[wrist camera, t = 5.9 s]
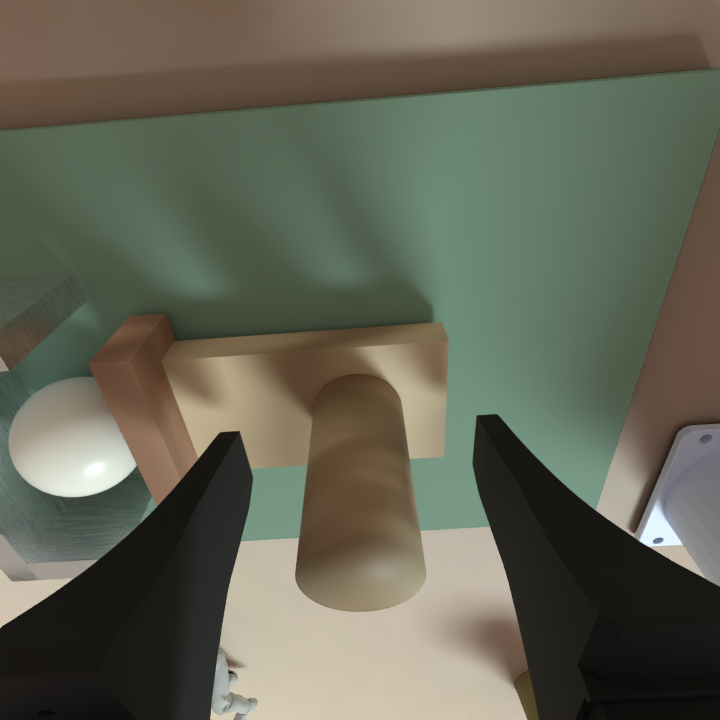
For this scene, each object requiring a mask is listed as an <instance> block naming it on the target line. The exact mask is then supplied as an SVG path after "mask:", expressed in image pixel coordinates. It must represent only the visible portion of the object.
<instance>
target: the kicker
mask: <svg viewBox="0 0 720 720" xmlns="http://www.w3.org/2000/svg"><path fill="white" fill-rule="evenodd" d="M448 349H449V340H448V337H447V334H446V331H445V328H444V325H443V322H436V323H422V324H408V325H394V326H380V327H366V328H352V329H338V330H325V331H311V332H297V333H283V334H269V335H255V336H241V337H227V338H213V339H199V340H185V341H175V339H174V336H173V333H172V330H171V327H170V324H169V321H168V318H167V316H166V313H165V314H151V315H138V316H129V317H128V318H127V320H126V321H125V322H124V323H123V324H122V325H121V326H120V328H119V329H118V330H117V331H116V332H115V333H114V334H113V336H112V337H111V338H110V339H109V340H108V341H107V342H106V344H105V345H104V346H103V347H102V348H101V349H100V350H99V352H98V353H97V354H96V355H95V356H94V357H93V358H92V360H91V361H90V362H89V363H88V365H89V367H90V370H91V372H92V374H93V376H94V378H95V380H96V382H97V384H98V386H99V388H100V390H101V392H102V394H103V396H104V398H105V400H106V402H107V404H108V406H109V409H110V411H111V413H112V415H113V417H114V419H115V421H116V423H117V425H118V427H119V429H120V431H121V433H122V435H123V437H124V439H125V441H126V443H127V445H128V447H129V450H130V452H131V454H132V456H133V458H134V460H135V462H136V464H137V466H138V468H139V470H140V472H141V474H142V476H143V478H144V480H145V482H146V484H147V486H148V489H149V491H150V493H151V495H152V497H153V499H154V501H155V503H156V505H157V506H158V505H159V504H160V503H161V502H162V501H163V499H164V498H165V497H166V496H167V495H168V494H169V493H170V492H171V491H172V490H173V489H174V487H175V486H176V485H177V484H178V483H179V482H180V480H181V479H182V478H183V477H184V476H185V474H186V473H187V472H188V471H189V470H190V468H191V467H192V466H193V465H194V464H195V462H196V461H197V460H198V459H199V457H200V456H201V455H202V454H203V452H204V451H205V450H206V449H207V447H208V446H209V445H210V444H211V442H212V441H213V440H214V439H215V437H216V436H217V435H218V434H219V433H220V432H229V431H240V434H241V437H242V440H243V444H244V447H245V451H246V454H247V457H248V461H249V464H250V468H251V469H258V468H274V467H290V466H306V465H307V473H306V482H305V491H304V500H303V509H302V518H301V527H300V536H299V545H298V554H297V563H296V572H295V578H296V582H297V585H298V587H299V588H300V590H301V591H302V592H303V593H304V594H305V595H306V596H307V597H308V598H310V599H311V600H313V601H314V602H316V603H318V604H320V605H323V606H326V607H329V608H332V609H337V610H342V611H350V612H368V611H376V610H382V609H386V608H390V607H393V606H396V605H398V604H400V603H403V602H404V601H406V600H408V599H410V598H411V597H412V596H414V595H415V594H416V593H417V592H418V591H419V590H420V589H421V587H422V586H423V584H424V581H425V579H426V568H425V561H424V554H423V547H422V540H421V533H420V526H419V519H418V513H417V506H416V499H415V492H414V485H413V478H412V471H411V464H410V459H417V458H432V457H444V450H445V425H446V400H447V375H448Z"/></svg>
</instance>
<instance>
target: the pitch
mask: <svg viewBox="0 0 720 720" xmlns="http://www.w3.org/2000/svg"><path fill="white" fill-rule="evenodd" d="M719 130H720V69H702V70H690V71H679V72H667V73H655V74H644V75H632V76H621V77H609V78H597V79H586V80H574V81H562V82H551V83H539V84H528V85H516V86H504V87H493V88H481V89H469V90H458V91H446V92H435V93H423V94H411V95H400V96H388V97H376V98H365V99H353V100H342V101H330V102H318V103H307V104H295V105H283V106H272V107H260V108H249V109H237V110H225V111H214V112H202V113H190V114H179V115H167V116H155V117H144V118H132V119H121V120H109V121H97V122H86V123H74V124H62V125H51V126H39V127H28V128H16V129H4V130H0V278H9V277H22V276H35V275H49V274H62V273H74V274H75V276H76V278H77V281H78V283H79V285H80V287H81V290H82V292H83V294H84V296H85V298H86V301H87V302H85V303H84V304H83V305H82V306H81V307H80V308H79V309H78V310H77V311H75V312H74V313H73V314H72V315H71V316H70V317H69V318H68V319H67V320H65V321H64V322H63V323H62V324H61V325H60V326H59V327H58V328H57V329H55V330H54V331H53V332H52V333H51V334H50V335H49V336H48V337H47V338H45V339H44V340H43V341H42V342H41V343H40V344H39V345H38V346H37V347H35V348H34V349H33V350H32V351H31V352H30V353H29V354H28V355H27V356H25V357H24V358H23V359H22V360H21V361H20V362H19V363H18V364H17V365H16V366H17V368H18V370H19V371H20V373H21V375H22V376H23V378H24V380H25V381H26V383H27V385H28V386H29V388H30V390H31V392H32V393H33V394H34V393H36V392H37V391H39V390H40V389H42V388H44V387H45V386H47V385H50V384H52V383H54V382H56V381H60V380H63V379H67V378H73V377H94V376H93V374H92V372H91V370H90V367H89V365H88V363H89V362H90V361H91V360H92V358H93V357H94V356H95V355H96V354H97V353H98V352H99V350H100V349H101V348H102V347H103V346H104V345H105V344H106V342H107V341H108V340H109V339H110V338H111V337H112V336H113V334H114V333H115V332H116V331H117V330H118V329H119V328H120V326H121V325H122V324H123V323H124V322H125V321H126V320H127V318H128V317H129V316H138V315H151V314H165V313H166V316H167V318H168V321H169V324H170V327H171V330H172V333H173V336H174V339H175V341H185V340H199V339H213V338H227V337H241V336H255V335H269V334H283V333H297V332H311V331H325V330H338V329H352V328H366V327H380V326H394V325H408V324H422V323H436V322H443V325H444V328H445V331H446V334H447V337H448V340H449V349H448V375H447V400H446V425H445V450H444V457H432V458H417V459H410V464H411V471H412V478H413V485H414V492H415V499H416V506H417V513H418V519H419V526H420V531H422V530H440V529H457V528H474V527H490V525H489V522H488V519H487V516H486V514H485V511H484V508H483V505H482V502H481V499H480V496H479V492H478V488H477V484H476V479H475V474H474V470H473V465H472V460H473V449H474V438H475V426H476V415H488V414H498V415H499V416H500V417H501V418H502V420H503V421H504V422H505V423H506V424H507V425H508V427H509V428H510V429H511V430H512V431H513V432H514V434H515V435H516V436H517V437H518V438H519V439H520V440H521V441H522V442H523V444H524V445H525V446H526V447H527V448H528V449H529V450H530V451H531V452H532V453H533V454H534V455H535V456H536V457H537V458H538V459H539V460H540V461H541V462H542V463H543V464H544V465H545V466H546V467H547V468H548V469H549V470H550V471H551V472H552V473H553V474H554V475H555V476H556V477H557V478H558V479H559V480H560V481H561V482H562V483H563V484H565V485H566V486H567V487H568V488H569V489H570V490H571V491H572V492H574V493H575V494H576V495H577V496H578V497H579V498H581V499H582V500H583V501H584V502H586V503H587V504H588V505H589V506H591V507H592V508H593V509H594V510H596V507H597V504H598V501H599V498H600V495H601V492H602V489H603V486H604V483H605V480H606V477H607V474H608V471H609V467H610V464H611V461H612V458H613V455H614V452H615V449H616V446H617V443H618V440H619V437H620V434H621V431H622V428H623V425H624V421H625V418H626V415H627V412H628V409H629V406H630V403H631V400H632V397H633V394H634V391H635V388H636V385H637V382H638V378H639V375H640V372H641V369H642V366H643V363H644V360H645V357H646V354H647V351H648V348H649V345H650V342H651V339H652V336H653V332H654V329H655V326H656V323H657V320H658V317H659V314H660V311H661V308H662V305H663V302H664V299H665V296H666V293H667V289H668V286H669V283H670V280H671V277H672V274H673V271H674V268H675V265H676V262H677V259H678V256H679V253H680V250H681V247H682V243H683V240H684V237H685V234H686V231H687V228H688V225H689V222H690V219H691V216H692V213H693V210H694V207H695V204H696V200H697V197H698V194H699V191H700V188H701V185H702V182H703V179H704V176H705V173H706V170H707V167H708V164H709V161H710V158H711V154H712V151H713V148H714V145H715V142H716V139H717V136H718V133H719ZM251 471H252V474H253V484H252V492H251V499H250V506H249V511H248V515H247V519H246V523H245V527H244V531H243V534H242V538H241V541H252V540H269V539H286V538H299V536H300V527H301V518H302V509H303V500H304V491H305V482H306V473H307V465H306V466H290V467H274V468H258V469H251ZM138 473H141V472H140V470H139V468H138V466H136V467H135V468H134V470H133V471H132V472H131V473H130V474H138Z"/></svg>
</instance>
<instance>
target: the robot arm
mask: <svg viewBox="0 0 720 720" xmlns="http://www.w3.org/2000/svg"><path fill="white" fill-rule="evenodd" d="M472 465H473V470H474V474H475V479H476V484H477V488H478V492H479V496H480V499H481V502H482V505H483V508H484V511H485V514H486V516H487V519H488V522H489V525H490V528H491V531H492V533H493V536H494V539H495V542H496V545H497V548H498V550H499V553H500V556H501V559H502V562H503V565H504V568H505V572H506V575H507V578H508V582H509V586H510V590H511V594H512V598H513V602H514V607H515V611H516V615H517V619H518V624H519V628H520V632H521V636H522V641H523V645H524V650H525V654H526V659H527V664H528V668H529V673H530V678H531V682H532V687H533V692H534V697H535V702H536V707H537V712H538V717H539V720H720V424H706V425H691V426H687V427H684V428H682V429H681V430H680V431H679V432H678V434H677V436H676V438H675V440H674V443H673V445H672V448H671V450H670V452H669V455H668V457H667V460H666V462H665V464H664V467H663V469H662V472H661V474H660V476H659V479H658V481H657V483H656V486H655V488H654V491H653V493H652V495H651V498H650V500H649V503H648V505H647V507H646V510H645V512H644V515H643V517H642V519H641V522H640V524H639V527H638V529H637V531H636V534H635V537H632V536H631V535H630V534H628V533H627V532H625V531H624V530H622V529H621V528H619V527H618V526H616V525H615V524H613V523H612V522H611V521H609V520H608V519H606V518H605V517H604V516H602V515H601V514H600V513H598V512H597V511H596V510H594V509H593V508H592V507H591V506H589V505H588V504H587V503H586V502H584V501H583V500H582V499H581V498H579V497H578V496H577V495H576V494H575V493H574V492H572V491H571V490H570V489H569V488H568V487H567V486H566V485H565V484H563V483H562V482H561V481H560V480H559V479H558V478H557V477H556V476H555V475H554V474H553V473H552V472H551V471H550V470H549V469H548V468H547V467H546V466H545V465H544V464H543V463H542V462H541V461H540V460H539V459H538V458H537V457H536V456H535V455H534V454H533V453H532V452H531V451H530V450H529V449H528V448H527V447H526V446H525V445H524V444H523V442H522V441H521V440H520V439H519V438H518V437H517V436H516V435H515V434H514V432H513V431H512V430H511V429H510V428H509V427H508V425H507V424H506V423H505V422H504V421H503V420H502V418H501V417H500V416H499V415H498V414H488V415H476V426H475V438H474V449H473V460H472ZM252 484H253V474H252V471H251V468H250V464H249V461H248V457H247V454H246V451H245V447H244V444H243V440H242V437H241V434H240V431H229V432H220V433H219V434H218V435H217V436H216V437H215V439H214V440H213V441H212V442H211V444H210V445H209V446H208V447H207V449H206V450H205V451H204V452H203V454H202V455H201V456H200V457H199V459H198V460H197V461H196V462H195V464H194V465H193V466H192V467H191V468H190V470H189V471H188V472H187V473H186V474H185V476H184V477H183V478H182V479H181V480H180V482H179V483H178V484H177V485H176V486H175V487H174V489H173V490H172V491H171V492H170V493H169V494H168V495H167V496H166V497H165V498H164V499H163V501H162V502H161V503H160V504H159V505H158V506H157V507H156V508H155V509H154V510H153V511H152V512H151V513H150V514H149V515H148V516H147V517H146V518H145V519H144V520H143V521H142V522H141V523H140V524H139V525H138V526H137V527H136V528H135V529H134V530H133V531H132V532H131V533H129V534H128V535H127V536H126V537H125V538H124V539H123V540H122V541H121V542H119V543H118V544H117V545H116V546H115V547H113V548H112V549H111V550H110V551H108V552H107V553H106V554H105V555H104V556H102V557H101V558H100V559H99V560H98V561H96V562H95V563H94V564H93V565H91V566H90V567H89V568H88V569H86V570H85V571H84V572H82V573H81V574H80V575H78V576H77V577H76V578H74V579H73V580H71V581H70V582H69V583H67V584H66V585H64V586H63V587H62V588H60V589H59V590H57V591H56V592H55V593H53V594H52V595H50V596H49V597H47V598H46V599H44V600H43V601H41V602H40V603H38V604H37V605H35V606H33V607H32V608H30V609H29V610H27V611H26V612H24V613H23V614H21V615H19V616H18V617H16V618H15V619H13V620H12V621H10V622H8V623H7V624H5V625H3V626H2V627H1V629H0V720H210V714H211V704H212V696H213V688H214V680H215V672H216V664H217V657H218V650H219V643H220V636H221V629H222V623H223V617H224V610H225V604H226V598H227V593H228V588H229V584H230V579H231V575H232V572H233V568H234V564H235V560H236V557H237V553H238V549H239V546H240V542H241V538H242V534H243V531H244V527H245V523H246V519H247V515H248V511H249V506H250V499H251V492H252ZM682 544H683V546H684V547H685V549H686V550H687V551H688V553H689V554H690V556H691V557H692V559H693V560H694V562H695V563H696V565H697V566H698V568H699V569H700V570H701V572H702V573H703V575H704V576H705V578H706V579H705V578H703V577H701V576H699V575H697V574H695V573H693V572H692V571H690V570H688V569H686V568H684V567H682V566H680V565H678V564H677V563H675V562H673V561H671V560H670V559H668V558H666V557H665V556H663V555H661V554H660V553H658V552H656V551H655V550H653V549H651V548H650V547H648V546H665V545H682Z"/></svg>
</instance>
